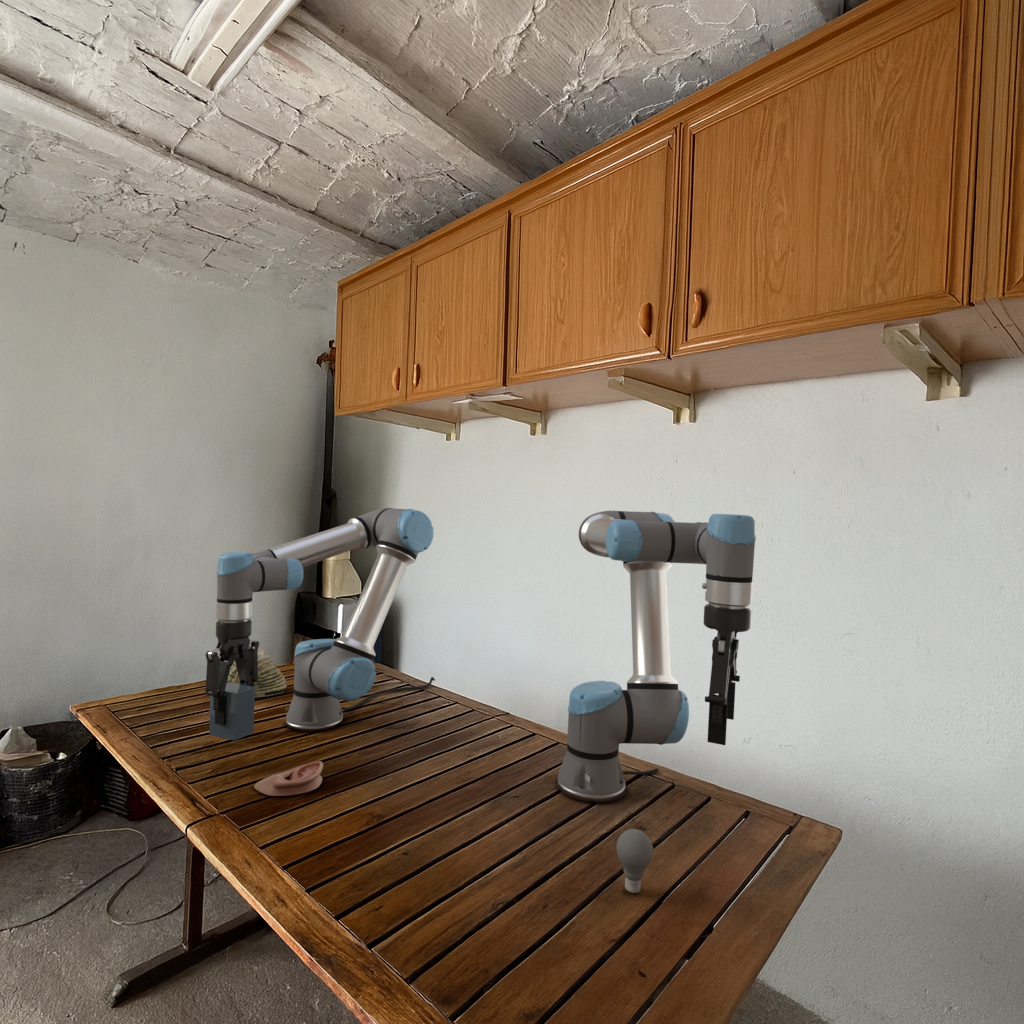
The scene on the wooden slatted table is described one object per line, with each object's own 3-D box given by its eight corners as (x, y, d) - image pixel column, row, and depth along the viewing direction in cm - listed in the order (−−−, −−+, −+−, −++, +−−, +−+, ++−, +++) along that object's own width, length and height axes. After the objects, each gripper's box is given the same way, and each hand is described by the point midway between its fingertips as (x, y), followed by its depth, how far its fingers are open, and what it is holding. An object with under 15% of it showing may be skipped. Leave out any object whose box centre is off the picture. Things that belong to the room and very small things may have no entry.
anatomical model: (246, 773, 134) (276, 753, 145) (245, 792, 134) (276, 770, 145) (303, 782, 131) (330, 760, 142) (302, 801, 131) (329, 777, 142)
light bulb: (610, 879, 108) (613, 822, 108) (644, 879, 109) (647, 822, 109) (619, 902, 102) (622, 840, 102) (655, 901, 103) (658, 840, 103)
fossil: (218, 695, 195) (220, 647, 195) (278, 685, 208) (279, 640, 207) (228, 703, 189) (230, 653, 188) (289, 692, 201) (290, 645, 201)
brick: (228, 726, 150) (229, 681, 150) (253, 732, 147) (255, 686, 147) (209, 734, 145) (210, 688, 145) (234, 740, 142) (235, 693, 142)
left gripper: (252, 611, 156) (250, 705, 156) (187, 625, 138) (185, 729, 139) (276, 614, 153) (274, 709, 153) (212, 628, 135) (210, 736, 136)
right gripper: (713, 594, 120) (708, 705, 120) (693, 613, 97) (686, 750, 98) (755, 598, 117) (750, 712, 117) (745, 619, 94) (738, 760, 95)
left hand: (231, 719), depth 146 cm, fingers closed on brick, 6 cm apart
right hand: (721, 729), depth 107 cm, fingers open, 13 cm apart
